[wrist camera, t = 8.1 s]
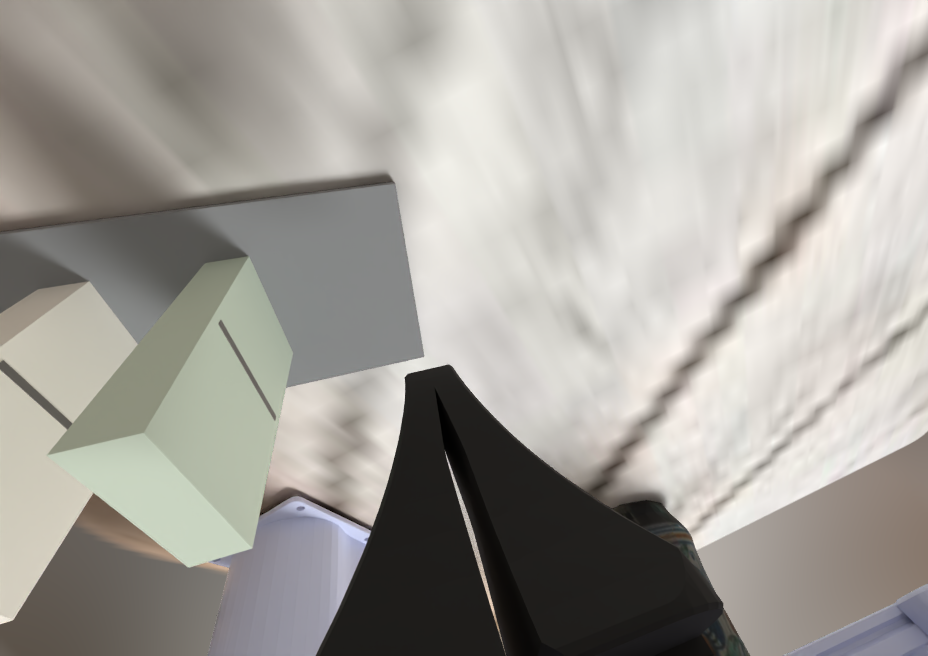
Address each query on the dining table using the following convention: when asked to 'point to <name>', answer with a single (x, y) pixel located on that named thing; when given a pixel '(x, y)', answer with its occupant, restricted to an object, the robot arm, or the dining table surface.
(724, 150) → the dining table surface
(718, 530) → the dining table surface
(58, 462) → the sage domino
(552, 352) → the dining table surface
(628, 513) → the beer stein
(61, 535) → the domino
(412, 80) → the dining table surface
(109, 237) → the mat
